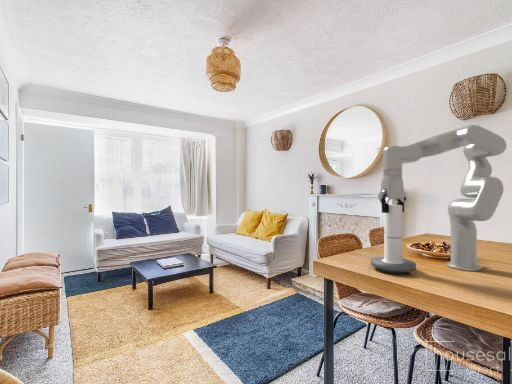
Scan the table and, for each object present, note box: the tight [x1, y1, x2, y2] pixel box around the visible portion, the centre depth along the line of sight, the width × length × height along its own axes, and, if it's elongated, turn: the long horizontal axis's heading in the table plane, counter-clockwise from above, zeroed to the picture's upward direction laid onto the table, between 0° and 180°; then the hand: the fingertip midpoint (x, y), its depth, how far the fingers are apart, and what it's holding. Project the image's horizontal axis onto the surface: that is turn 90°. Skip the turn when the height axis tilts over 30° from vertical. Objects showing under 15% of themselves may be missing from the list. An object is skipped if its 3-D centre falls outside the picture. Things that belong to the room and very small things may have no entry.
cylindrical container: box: [383, 204, 403, 263], centre depth 120 cm, size 7×7×25 cm
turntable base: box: [377, 268, 409, 275], centre depth 120 cm, size 12×12×2 cm
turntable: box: [370, 256, 417, 273], centre depth 120 cm, size 18×18×6 cm
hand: (393, 212), depth 121 cm, fingers open, 9 cm apart
